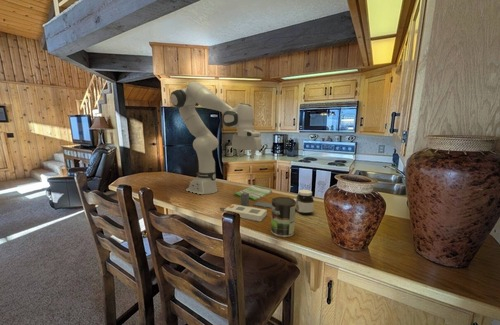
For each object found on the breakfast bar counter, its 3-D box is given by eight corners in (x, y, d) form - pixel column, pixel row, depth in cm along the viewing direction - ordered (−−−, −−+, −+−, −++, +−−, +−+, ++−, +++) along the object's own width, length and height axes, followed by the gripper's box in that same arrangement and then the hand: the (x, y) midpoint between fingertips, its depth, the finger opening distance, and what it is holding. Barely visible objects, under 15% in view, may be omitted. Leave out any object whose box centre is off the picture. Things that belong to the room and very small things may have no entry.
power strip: (216, 213, 112) (215, 206, 112) (224, 207, 121) (224, 201, 120) (260, 222, 103) (260, 215, 102) (266, 215, 111) (266, 208, 110)
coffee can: (278, 239, 87) (279, 206, 85) (266, 228, 97) (267, 198, 94) (299, 234, 91) (301, 203, 89) (286, 224, 101) (287, 195, 98)
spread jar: (315, 215, 111) (316, 194, 110) (294, 216, 110) (295, 194, 108) (305, 207, 123) (306, 187, 121) (286, 208, 121) (287, 188, 119)
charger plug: (240, 207, 121) (240, 194, 119) (243, 205, 124) (243, 192, 123) (246, 208, 119) (246, 194, 118) (248, 206, 123) (249, 193, 121)
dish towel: (272, 192, 151) (272, 188, 151) (254, 201, 132) (255, 196, 132) (252, 188, 161) (252, 184, 160) (233, 196, 142) (233, 191, 141)
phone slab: (252, 206, 125) (252, 204, 124) (257, 202, 131) (257, 201, 131) (276, 210, 119) (276, 208, 119) (279, 206, 126) (279, 204, 126)
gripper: (229, 133, 125) (229, 156, 127) (255, 133, 111) (255, 159, 113) (237, 132, 129) (237, 155, 131) (263, 133, 115) (263, 158, 117)
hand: (245, 157), depth 122 cm, fingers open, 8 cm apart
